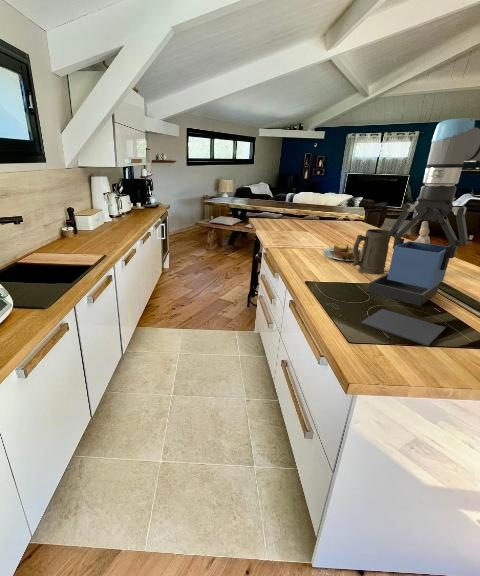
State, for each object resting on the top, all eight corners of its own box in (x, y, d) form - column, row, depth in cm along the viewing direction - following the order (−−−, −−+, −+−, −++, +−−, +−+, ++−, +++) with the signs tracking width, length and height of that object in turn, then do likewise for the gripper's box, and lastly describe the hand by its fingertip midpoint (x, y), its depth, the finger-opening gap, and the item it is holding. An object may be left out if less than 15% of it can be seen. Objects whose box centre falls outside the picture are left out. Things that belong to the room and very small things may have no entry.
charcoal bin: (435, 295, 119) (439, 283, 118) (419, 308, 109) (423, 295, 107) (386, 283, 132) (388, 272, 130) (367, 293, 122) (369, 282, 120)
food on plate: (383, 262, 161) (386, 250, 159) (337, 264, 159) (339, 252, 157) (354, 250, 185) (356, 239, 183) (314, 252, 183) (315, 241, 180)
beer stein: (374, 268, 153) (379, 227, 145) (391, 274, 143) (397, 231, 135) (345, 272, 151) (349, 231, 143) (360, 279, 141) (365, 235, 133)
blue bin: (443, 280, 91) (452, 247, 88) (430, 289, 85) (440, 253, 81) (401, 271, 99) (408, 240, 96) (386, 279, 93) (394, 246, 90)
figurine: (414, 257, 170) (423, 220, 163) (432, 260, 163) (442, 222, 156) (407, 260, 165) (416, 221, 158) (425, 263, 159) (436, 223, 152)
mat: (447, 326, 96) (448, 324, 96) (428, 346, 86) (428, 344, 85) (384, 308, 109) (385, 306, 109) (360, 323, 99) (361, 321, 99)
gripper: (385, 184, 89) (370, 258, 97) (495, 187, 72) (466, 277, 80) (396, 183, 94) (381, 254, 101) (501, 185, 76) (473, 271, 84)
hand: (418, 264), depth 91 cm, fingers closed on blue bin, 11 cm apart
